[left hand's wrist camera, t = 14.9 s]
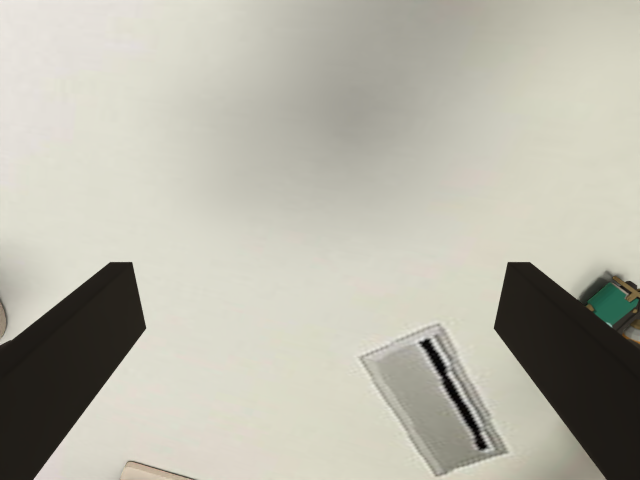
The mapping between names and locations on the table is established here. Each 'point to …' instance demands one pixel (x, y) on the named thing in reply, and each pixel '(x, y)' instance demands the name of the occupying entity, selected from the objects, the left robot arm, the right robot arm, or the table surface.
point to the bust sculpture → (2, 321)
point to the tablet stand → (146, 473)
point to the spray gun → (619, 308)
